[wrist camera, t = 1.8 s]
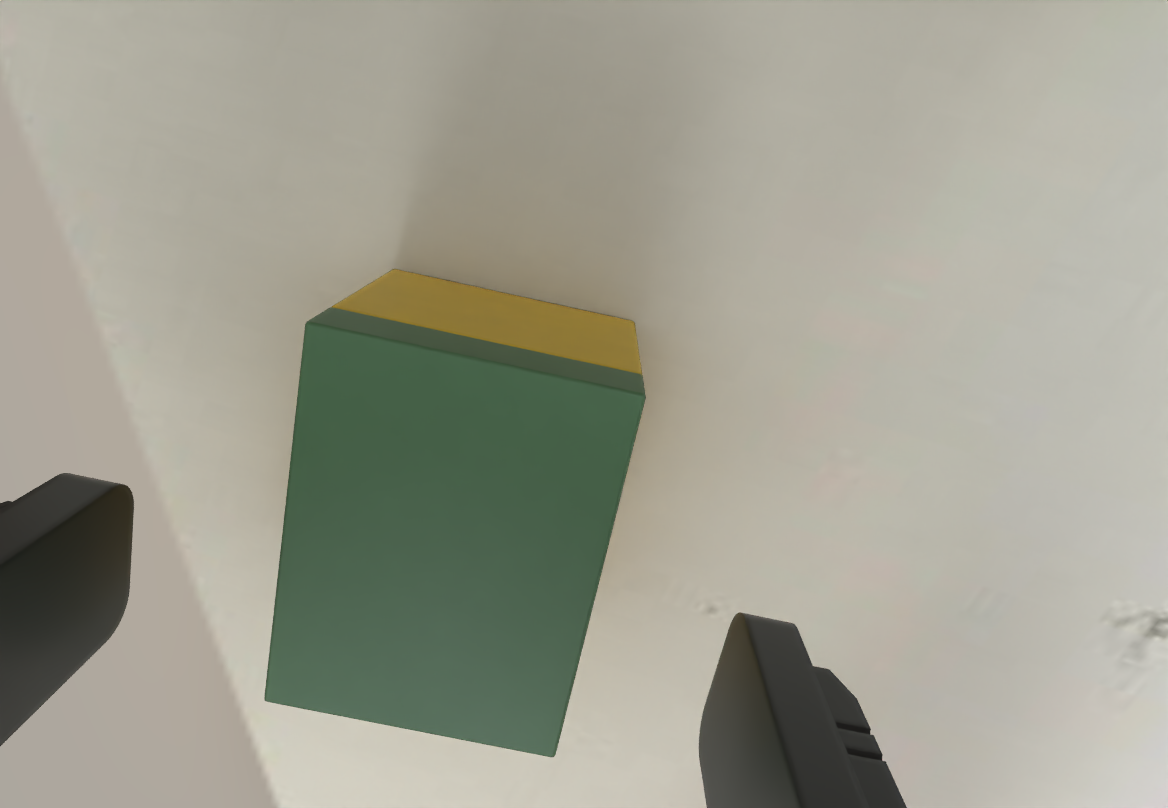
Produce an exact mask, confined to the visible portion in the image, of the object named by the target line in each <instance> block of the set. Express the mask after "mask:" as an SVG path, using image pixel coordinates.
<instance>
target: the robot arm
mask: <svg viewBox="0 0 1168 808" xmlns="http://www.w3.org/2000/svg"><path fill="white" fill-rule="evenodd" d="M133 512H134V500H133V495H132V492H131V490H130V488H129V487H128V486H126V485H123V484H118V483H113V482H108V481H104V480H98V479H94V478H89V477H84V476H79V475H74V474H70V473H63V474H60V475H57V476H55V477H54V478H52V479H51V480H49V481H47V482H45V483H44V484H42V485H40V486H39V487H37V488H35V489H34V490H32V491H30V492H29V493H27V494H25V495H23V496H22V497H20V498H18V499H17V500H15V501H13V502H10V501H6V502H3V503H0V746H1V745H2V744H3V743H4V742H5V741H6V740H7V739H8V738H9V737H10V736H11V735H12V734H13V733H14V732H15V731H16V730H17V729H18V728H19V727H20V726H21V725H22V724H23V723H24V722H25V721H26V720H27V719H28V718H29V717H30V716H31V715H32V714H33V713H35V712H36V711H37V710H38V709H39V708H40V707H41V706H42V705H43V704H44V703H45V702H46V701H47V700H48V699H49V698H50V697H51V696H52V695H53V694H54V693H55V692H56V691H57V690H58V689H59V688H60V687H61V686H62V685H63V684H64V683H65V682H66V681H67V680H68V679H69V678H70V677H71V676H72V675H73V674H74V673H75V672H76V671H77V670H78V669H79V668H80V667H81V666H82V665H83V664H84V663H85V662H86V661H87V660H88V659H89V658H90V657H91V656H92V655H93V654H94V653H95V652H96V651H97V650H98V649H99V648H100V647H101V646H102V645H103V644H104V643H106V641H107V640H108V639H109V638H110V637H111V636H112V634H113V633H114V631H115V630H116V628H117V626H118V625H119V623H120V621H121V618H122V616H123V614H124V611H125V608H126V605H127V601H128V597H129V589H130V569H131V551H132V531H133ZM870 730H871V729H870V727H869V724H868V722H867V720H866V718H865V716H864V714H863V711H862V709H861V707H860V705H859V703H858V700H857V698H856V697H855V696H854V695H853V694H852V693H851V692H850V691H849V690H848V689H847V688H846V687H845V686H844V685H843V684H842V682H841V681H840V680H839V679H838V678H837V677H836V676H835V675H834V674H833V673H832V672H831V671H830V670H829V669H824V668H819V667H814V666H812V663H811V661H810V658H809V656H808V653H807V651H806V648H805V646H804V643H803V641H802V638H801V636H800V633H799V631H798V629H797V627H796V626H795V624H793V623H789V622H784V621H779V620H774V619H769V618H764V617H759V616H754V615H750V614H745V613H738V614H736V615H735V617H734V618H733V620H732V622H731V625H730V627H729V630H728V633H727V637H726V640H725V643H724V646H723V649H722V653H721V656H720V659H719V662H718V665H717V669H716V672H715V675H714V678H713V681H712V685H711V688H710V691H709V694H708V697H707V701H706V704H705V707H704V711H703V715H702V720H701V727H700V735H699V758H700V765H701V772H702V778H703V785H704V791H705V798H706V804H707V808H907V807H906V805H905V803H904V801H903V799H902V796H901V794H900V792H899V790H898V788H897V785H896V783H895V781H894V779H893V777H892V775H891V772H890V770H889V768H888V766H887V764H886V762H885V761H882V753H881V751H880V748H879V746H878V744H877V742H876V740H875V738H874V735H870Z"/></svg>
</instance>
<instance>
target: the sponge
mask: <svg viewBox="0 0 1168 808" xmlns="http://www.w3.org/2000/svg"><path fill="white" fill-rule="evenodd" d="M645 398H646V396H645V389H644V382H643V376H642V370H641V363H640V356H639V350H638V343H637V336H636V330H635V323H634V322H633V321H630V320H625V319H621V318H616V317H611V316H607V315H602V314H598V313H593V312H589V311H584V310H579V309H575V308H570V307H566V306H561V305H557V304H552V303H548V302H543V301H538V300H534V299H529V298H525V297H520V296H516V295H511V294H506V293H502V292H497V291H493V290H488V289H484V288H479V287H474V286H470V285H465V284H461V283H456V282H452V281H447V280H442V279H438V278H433V277H429V276H424V275H420V274H415V273H410V272H406V271H401V270H397V269H393V270H391V271H390V272H388V273H386V274H385V275H383V276H381V277H380V278H378V279H377V280H375V281H373V282H372V283H370V284H368V285H367V286H365V287H363V288H362V289H360V290H358V291H357V292H355V293H353V294H352V295H350V296H349V297H347V298H345V299H344V300H342V301H340V302H339V303H337V304H335V305H334V306H332V308H329V309H327V310H325V311H324V312H322V313H320V314H319V315H317V316H315V317H314V318H312V319H311V320H309V321H307V322H306V324H305V333H304V342H303V351H302V360H301V369H300V379H299V388H298V397H297V406H296V415H295V424H294V433H293V443H292V452H291V461H290V470H289V479H288V488H287V497H286V506H285V516H284V525H283V534H282V543H281V552H280V561H279V570H278V579H277V589H276V598H275V607H274V616H273V625H272V634H271V643H270V653H269V662H268V671H267V680H266V689H265V701H267V702H272V703H277V704H282V705H287V706H292V707H298V708H303V709H308V710H313V711H318V712H323V713H328V714H333V715H338V716H344V717H349V718H354V719H359V720H364V721H369V722H374V723H379V724H384V725H390V726H395V727H400V728H405V729H410V730H415V731H420V732H425V733H430V734H435V735H441V736H446V737H451V738H456V739H461V740H466V741H471V742H476V743H481V744H487V745H492V746H497V747H502V748H507V749H512V750H517V751H522V752H527V753H533V754H538V755H543V756H548V757H554V756H555V754H556V750H557V747H558V743H559V739H560V735H561V731H562V727H563V723H564V719H565V715H566V711H567V707H568V703H569V699H570V695H571V691H572V687H573V683H574V679H575V675H576V671H577V667H578V663H579V660H580V656H581V652H582V648H583V644H584V640H585V636H586V632H587V628H588V624H589V620H590V616H591V612H592V608H593V604H594V600H595V596H596V592H597V588H598V584H599V580H600V576H601V573H602V569H603V565H604V561H605V557H606V553H607V549H608V545H609V541H610V537H611V533H612V529H613V525H614V521H615V517H616V513H617V509H618V505H619V501H620V497H621V493H622V489H623V485H624V482H625V478H626V474H627V470H628V466H629V462H630V458H631V454H632V450H633V446H634V442H635V438H636V434H637V430H638V426H639V422H640V418H641V414H642V410H643V406H644V402H645Z"/></svg>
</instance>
